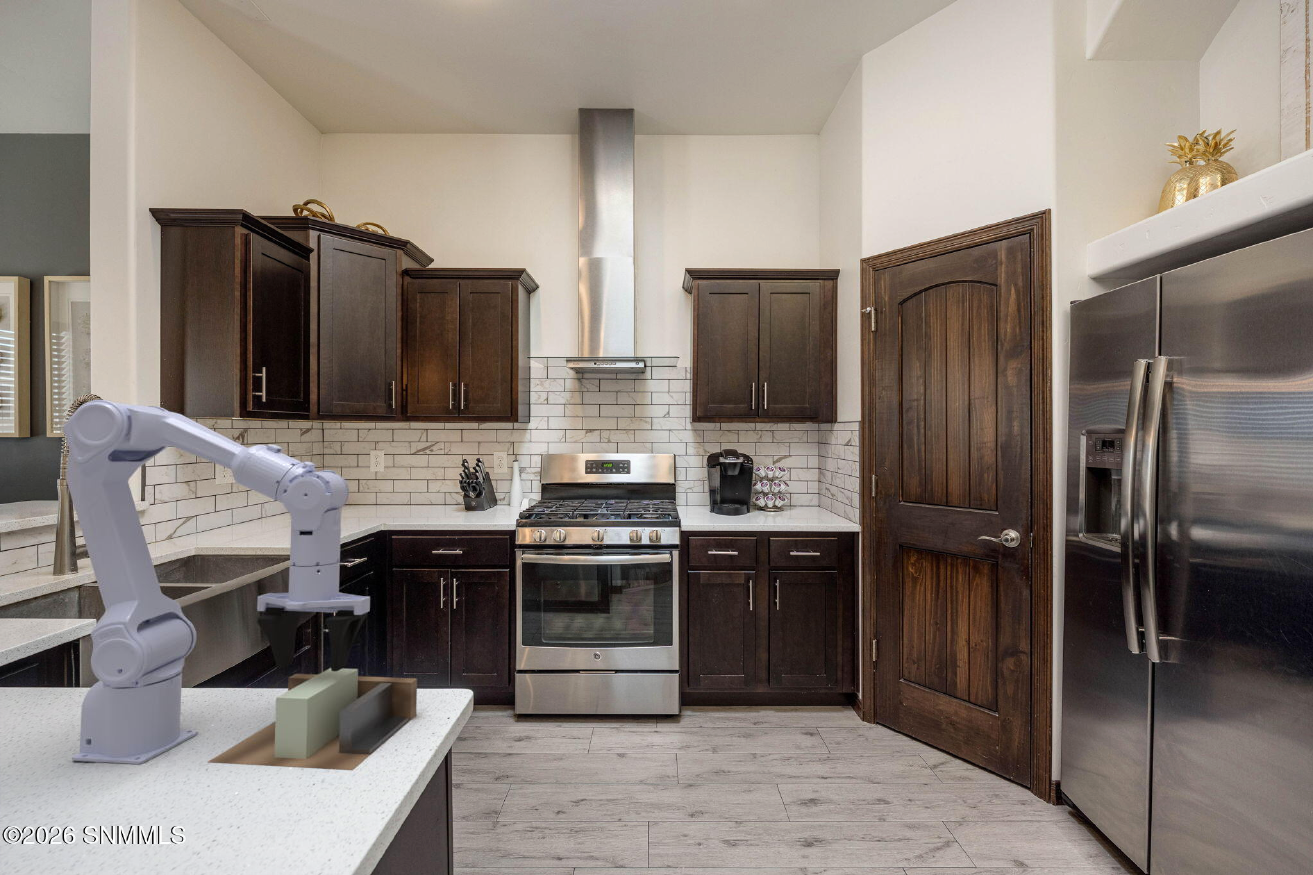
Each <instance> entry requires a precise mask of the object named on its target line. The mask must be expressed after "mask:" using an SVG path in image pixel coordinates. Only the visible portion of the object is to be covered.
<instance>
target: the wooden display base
mask: <svg viewBox="0 0 1313 875" xmlns="http://www.w3.org/2000/svg"><path fill="white" fill-rule="evenodd" d="M317 675H318V674H314V673H313V674H308V673H307V674H306V673H295V674H293V675H292V676H289V677H288V679H287V680H288V682H287V684H288V686H287V688H288V689H287V691H289V690H291V689H293V688H295V687H297V686H298V685H300V684H302V683H304V682H306V681H308V680H309V679H311V678H313V677H315V676H317ZM381 683H392V714H391V716H399V717H408V722H407V723H406V724H405V725H403V726H402V727H401V728H400V729H399V730H398V731H396V732H395V733H394V734H393V735H392V736H391V737H389V738H388V739H387V740H386V741H385V742H384V743H382V744H381V745H380V746H379V747H378V748H377V749H376V750H374V751H373V752H372V753H371V754H370V755H367V754H348V753H339V735H338V736H336V737H335V738H334V739H332V740H331V741H330V742H328V743H327V744H326V745H324V746H323V747H321V748H320V749H319V750H317V751H316V752H315V753H313V754H312V755H311V756H309V757H308V758H307V759H297V758H278V757H274V754H275V721H273V722H272V723H270V724H269V725H267V726H265V727H263V728H262V729H260V730H258V731H257V732H256V733H254V734H252V735H250V736H248V737H247V738H245V739H244V740H242V741H240V742H238V743H237V744H235V745H233V746H231V747H230V748H228V749H226V750H224V751H223V752H222V753H220V754H218V755H217V756H215V757H213V758H212V759H210V760H208V761H207V763H209V764H210V763H211V764H229V765H232V764H233V765H246V766H247V765H249V766H268V767H284V768H301V769H304V768H305V769H318V770H319V769H321V770H339V771H354V770H355V769H356V768H357V767H358V766H359V765H360V764H362V763H363V762H364V761H365V760H367V759H368V758H369V757H370V756H371V755H372V754H373V753H375V752H376V751H377V750H378V749H379V748H381V747H382V746H383V745H384V744H385V743H386V742H387V741H389V740H390V739H391V738H392V737H393V736H394V735H395V734H397V733H398V732H399V731H400V730H401V729H402V728H404V726H406V725H407V724H408V723H410V722H411V720H413V719H414V718H415V717H416V716H417V706H418V705H417V699H418V697H417V696H418V692H417V691H418V678H415V677H414V678H411V677H407V678H406V677H388V676H387V677H384V676H361V675H358V693H357V699H359V698H360V697H362V696H363V695H365V694H366V693H367V692H369V691H370V690H372V689H373V688H375V687H376V686H378V685H379V684H381Z"/></svg>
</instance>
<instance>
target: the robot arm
mask: <svg viewBox="0 0 1313 875" xmlns="http://www.w3.org/2000/svg"><path fill="white" fill-rule="evenodd" d="M62 431H63V434H64V437H65V440H66V443H67V447H68V455H67V463H66V470H65V478H66V480H65V481H66V482H67V483H66V484H67V487H68V490H69V494H70V496H71V500H72V504H73V507H74V511H75V513H76V517H77V521H78V523H79V527H80V531H81V533H82V536H83V540H84V543H85V546H86V550H87V552H88V556H89V560H90V563H91V566H92V569H93V572H94V576H95V579H96V582H97V586H98V590H99V593H100V596H101V600H102V603H103V606H104V609H105V611H104V613H103V615H102V616H101V617H100V619H98V621H97V623H96V624H95V626H94V627H93V628H92V629H91V631H90V637H91V640H92V646H93V647H92V652H91V655H90V656H91V657H90V667H91V669H92V672H93V674H94V676H95V677H96V678H97V679H98V681H97V682H96V683H94V684H93V685H92V686H91V687H90V688H89V690H88V691H87V693H86V694H85V696H84V698H83V701H82V704H81V711H80V712H81V713H80V714H81V716H80V735H79V752H78V753H76V754H73V755H72V756H71V760H72V761H77V762H78V761H79V762H95V763H109V764H110V763H111V764H112V763H114V764H126V765H127V764H132V765H142V764H144V763H146V762H148V761H150V760H152V759H154V758H156V757H159V755H161V754H163V753H165V752H167V751H168V750H169V751H170V750H171V749H172V748H175V747H177V746H179V745H181V744H182V743H184V742H186V741H188V740H190V739H192V738H193V737H195V736H197V735H198V733H199V731H198V730H197V729H196V730H194V729H193V730H191V729H181V713H182V712H181V709H182V708H181V707H182V685H183V684H182V683H183V682H182V679H183V667H184V666H185V659H186V657H188V656H189V655H190V654H191V653H192V651H193V649H194V648H195V646H196V642H197V637H198V636H197V631H196V629H195V626H194V624H193V623H192V622H191V621H190V620H189V619H188V618H187V617H186V616H185V615H184V613H183V611H182V608H181V605H180V603H179V602H177V601H175V600H174V599H173V598H170V597H169V596H167V595H165V594H163V593H162V590H161V586H160V583H159V580H158V576H157V573H156V571H155V567H154V563H153V559H152V556H151V553H150V551H149V547H148V543H147V539H146V537H145V534H144V530H143V527H142V523H141V520H140V517H139V514H138V510H137V507H136V504H135V501H134V497H133V494H132V490H131V488H130V483H129V481H130V479H131V477H132V476H133V475H134V474H135V473H136V471H137V470H138V469H139V468H140V467H142V466H144V465H145V464H146V463H147V462H149V461H151V460H152V459H153V458H155V457H156V456H158V455H159V454H160V453H161V452H163V451H165V450H166V449H167V448H169V447H170V448H171V447H173V448H176V449H178V450H180V451H184V452H187V453H189V454H191V455H193V456H196V457H199V458H202V459H204V460H206V461H209V462H211V463H214V464H216V465H219V466H221V467H223V468H226V469H229V470H230V471H231V473H232V477H233V479H234V481H235V482H236V483H237V484H238V485H241V486H243V487H245V488H247V489H249V490H252V491H254V492H256V493H259V494H261V495H263V496H265V497H267V498H269V499H272V500H275V501H277V502H279V503H282V504H283V506H284V508H285V509H286V511H287V512H288V513H289V515H290V526H291V527H290V544H289V546H290V549H289V553H290V554H289V573H288V574H289V576H288V592H276V593H275V592H274V593H273V592H268V593H264V594H261V595H258V596H257V601H256V602H257V603H256V605H257V606H256V609H257V610H256V611H257V612H264V613H263V615H260V616H257V618H256V619H257V620H256V621H257V625H258V626H259V627H260V628H261V630H262V631H263V633H264V635H265V637H266V638H267V640H268V642H269V646H270V648H271V652H272V655H273V658H274V662H275V665H276V669H278V670H279V669H280V670H281V669H283V668H286V667H288V666H290V665H292V664H293V662H294V658H295V650H296V649H295V647H296V636H297V629H298V625H299V621H300V617H301V614H302V612H312V613H313V612H315V613H317V612H318V613H335V614H336V615H332V616H330V617H328V618H326V619H325V625H326V628H327V632H328V636H329V643H330V662H329V663H330V668H331V670H332V671H338V670H340V669H345V667H347V663H348V660H349V656H350V652H351V650H352V647H353V644H354V641H355V638H356V636H357V634H358V632H359V630H360V628H361V626H362V624H363V623H364V621H365V620H366V618H367V617H368V612H370V610H371V609H370V608H371V596H364V595H363V596H362V595H357V594H349V593H346V592H345V593H343V592H340V566H341V565H340V561H341V537H342V536H341V532H342V531H341V530H342V528H341V524H342V508H343V507H344V506H345V505H346V504H347V502H348V499H349V496H350V488H349V485H348V482H347V481H346V480H345V479H344V477H342V476H341V475H340V474H338V473H337V472H336V471H335V470H320V471H317V470H316V464H315V463H313V462H311V461H305V462H303V461H300V460H298V459H296V458H293V457H291V456H289V455H287V454H284V453H282V451H283V450H284V449H283V447H281V446H279V445H277V444H269V443H268V445H267V446H266V445H264V444H257V445H253V446H250V447H247V446H244V445H242V444H241V443H238V442H237V441H234V440H232V439H229V438H228V437H226V436H224V435H223V434H220V433H218V432H216V431H215V430H212V429H210V428H208V427H206V426H204V425H202V424H201V423H198V422H196V421H194V420H192V419H190V418H188V417H186V416H185V415H183V414H182V413H178V412H174V411H169V410H168V409H165V408H163V407H160V406H157V405H154V406H153V405H149V406H148V405H147V406H145V405H137V404H130V403H129V404H128V403H121V402H120V403H119V402H114V401H111V400H107V399H106V400H105V399H94V400H90V401H88V402H85V403H84V404H81V406H79V407H78V408H77V409H76V410H75V411H74V412H73V414H72V415H71V416H70V417H69V418H68V420H67V421H65V423H64V424H63V426H62ZM140 624H142V625H140Z"/></svg>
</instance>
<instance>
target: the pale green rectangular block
mask: <svg viewBox="0 0 1313 875" xmlns="http://www.w3.org/2000/svg"><path fill="white" fill-rule="evenodd" d="M316 675H317V676H315V677H313V678H311V679H309V680H308V681H306V682H304V683H302V684H300V685H298V686H297V687H295V688H293V689H291V690H289V691H288V690H287V691H286V692H284V693H282V694H280V695H278V696H276V698H275V721H274V722H275V754H274V757H278V758H297V759H307V758H308V757H309V756H311V755H312V754H313V753H315V752H316V751H317V750H319V749H320V748H321V747H323V746H324V745H326V744H327V743H328V742H330V741H331V740H332V739H334V738H335V737H336V736H338V735H339V732H340V711H341V710H342V709H344V708H345V707H347V706H348V705H350V704H351V703H353V702H354V701H356V700H357V693H358V676H359V668H342V669H340V670H338V671H332V670H331V667H329V668H328V669H326V670H324V671H323V672H321V673H318V674H316Z"/></svg>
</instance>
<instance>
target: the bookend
mask: <svg viewBox="0 0 1313 875" xmlns="http://www.w3.org/2000/svg"><path fill="white" fill-rule="evenodd" d="M391 714H392V683H381V684H379V685H378V686H376V687H375V688H373V689H372V690H370V691H369V692H367V693H366V694H365V695H363V696H362V697H360V698H359V699H357V700H356V701H354V702H353V703H351V704H350V705H348V706H347V707H345V708H344V709H342V710H341V711H340V732H339V753H348V754H367V755H370V754H371V753H372V752H373V751H374V750H376V749H377V748H378V747H379V746H380V745H381V744H382V743H384V742H385V741H386V740H387V739H388V738H389V737H391V736H392V735H393V734H394V733H395V732H396V731H398V730H399V729H400V728H401V727H402V726H403V725H405V724H406V723H407V722H408V717H399V716H391ZM408 723H409V722H408ZM408 723H407V724H408ZM407 724H406V725H407ZM406 725H405V726H406ZM403 727H404V726H403ZM403 727H402V728H403ZM402 728H401V729H402ZM401 729H400V730H401ZM400 730H399V731H400ZM399 731H398V732H399ZM395 734H396V733H395ZM395 734H394V735H395ZM394 735H393V736H394ZM393 736H392V737H393ZM392 737H391V738H392ZM388 740H389V739H388ZM388 740H387V741H388ZM387 741H386V742H387ZM386 742H385V743H386ZM385 743H384V744H385ZM381 746H382V745H381ZM381 746H380V747H381ZM380 747H379V748H380ZM379 748H378V749H379ZM378 749H377V750H378ZM377 750H376V751H377ZM374 752H375V751H374ZM374 752H373V753H374ZM373 753H372V754H373ZM372 754H371V755H372ZM371 755H370V756H371Z"/></svg>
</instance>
